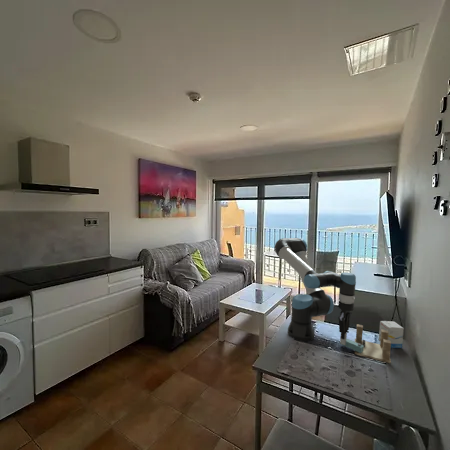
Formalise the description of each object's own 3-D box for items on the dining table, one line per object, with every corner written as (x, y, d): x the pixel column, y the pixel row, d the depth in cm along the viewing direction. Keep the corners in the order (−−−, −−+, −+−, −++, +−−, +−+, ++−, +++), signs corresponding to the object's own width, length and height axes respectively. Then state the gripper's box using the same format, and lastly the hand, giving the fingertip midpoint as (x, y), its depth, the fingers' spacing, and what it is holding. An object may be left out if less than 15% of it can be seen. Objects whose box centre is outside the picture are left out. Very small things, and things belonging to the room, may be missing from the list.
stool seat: (354, 354, 133) (356, 335, 132) (354, 340, 147) (355, 323, 146) (390, 363, 126) (392, 344, 125) (387, 347, 140) (388, 330, 139)
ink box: (402, 348, 140) (404, 328, 139) (387, 347, 140) (388, 327, 139) (392, 340, 149) (394, 321, 148) (378, 339, 149) (379, 320, 148)
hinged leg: (363, 351, 134) (363, 344, 133) (360, 353, 132) (361, 346, 131) (342, 342, 142) (343, 335, 142) (340, 343, 140) (340, 337, 140)
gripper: (349, 306, 129) (345, 351, 131) (357, 301, 139) (354, 342, 140) (334, 302, 135) (331, 345, 136) (343, 297, 144) (340, 337, 145)
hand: (343, 343), depth 138 cm, fingers closed
